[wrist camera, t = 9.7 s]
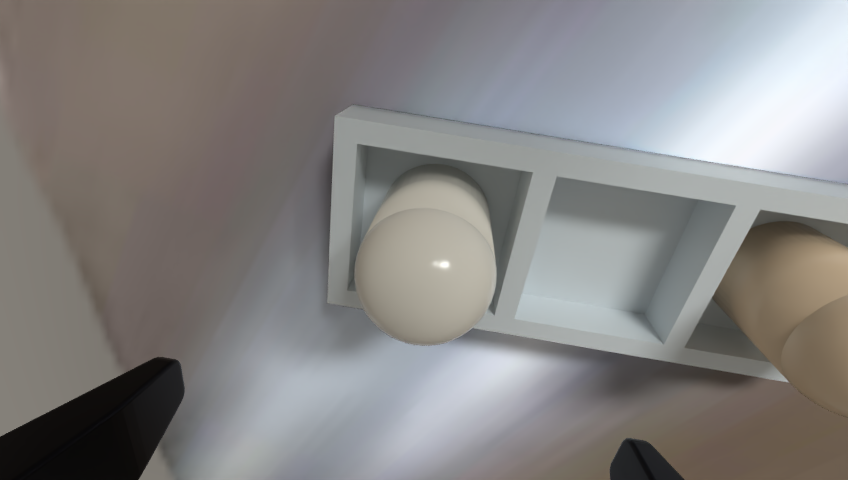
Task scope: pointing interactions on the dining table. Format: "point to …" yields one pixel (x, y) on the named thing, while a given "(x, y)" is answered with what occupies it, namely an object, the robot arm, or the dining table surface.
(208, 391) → the dining table surface
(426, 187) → the white capsule shape
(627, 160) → the divided compartment tray
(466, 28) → the dining table surface
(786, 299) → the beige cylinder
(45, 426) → the robot arm
